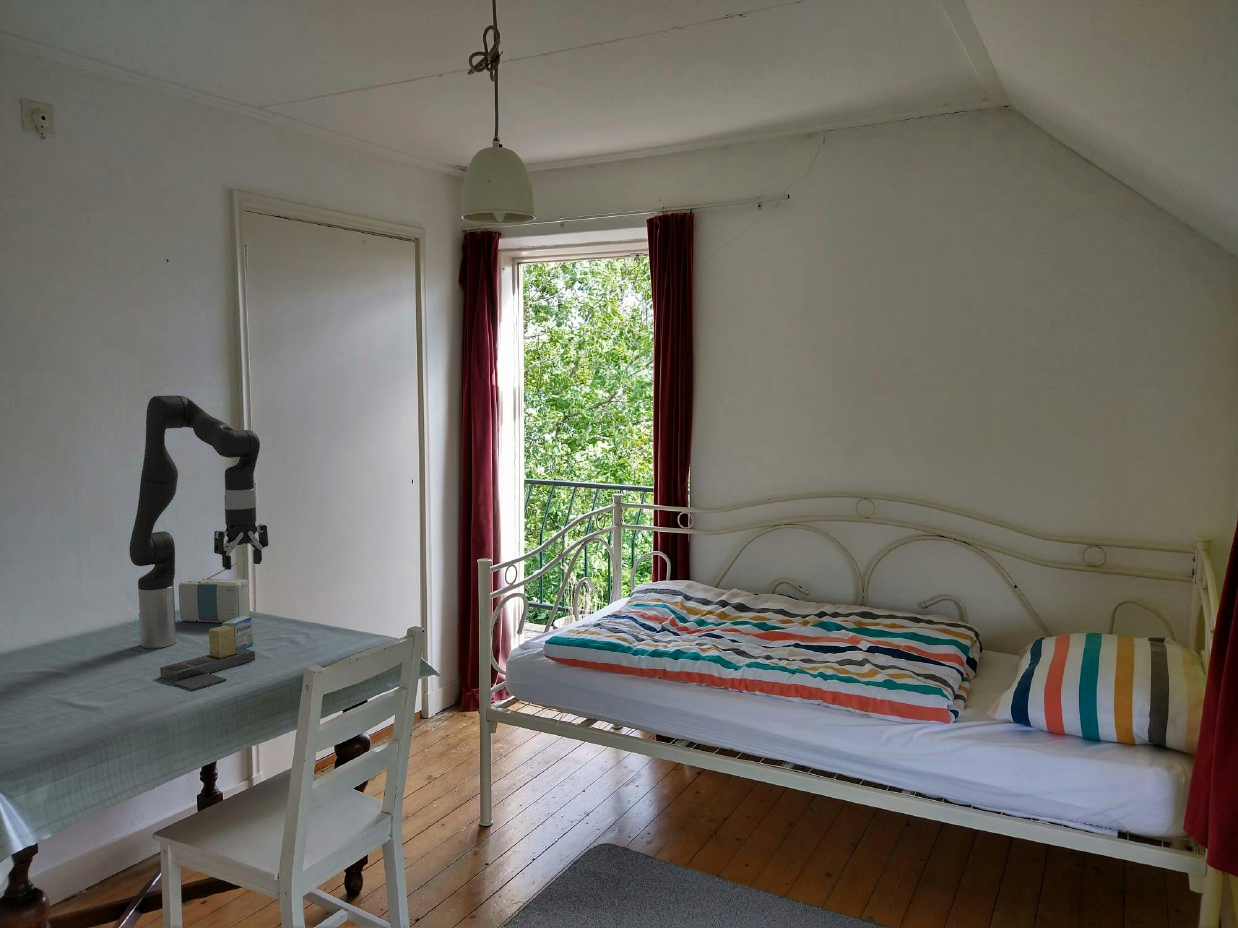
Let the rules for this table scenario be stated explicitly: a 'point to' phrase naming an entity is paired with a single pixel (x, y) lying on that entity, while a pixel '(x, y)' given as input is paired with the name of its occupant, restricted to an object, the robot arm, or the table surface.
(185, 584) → the stereo radio cassette player
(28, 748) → the table surface
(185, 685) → the rubber mat
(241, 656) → the rail
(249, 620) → the medicine box
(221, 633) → the brass block
